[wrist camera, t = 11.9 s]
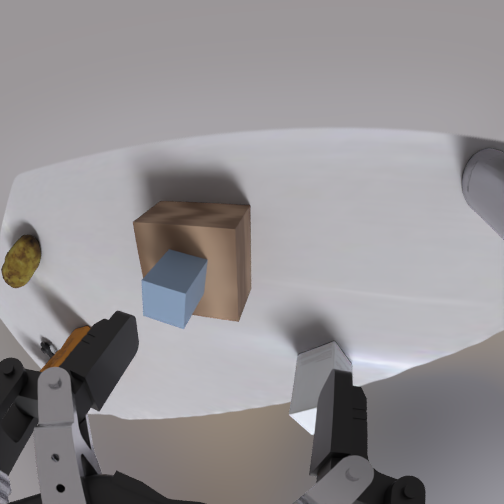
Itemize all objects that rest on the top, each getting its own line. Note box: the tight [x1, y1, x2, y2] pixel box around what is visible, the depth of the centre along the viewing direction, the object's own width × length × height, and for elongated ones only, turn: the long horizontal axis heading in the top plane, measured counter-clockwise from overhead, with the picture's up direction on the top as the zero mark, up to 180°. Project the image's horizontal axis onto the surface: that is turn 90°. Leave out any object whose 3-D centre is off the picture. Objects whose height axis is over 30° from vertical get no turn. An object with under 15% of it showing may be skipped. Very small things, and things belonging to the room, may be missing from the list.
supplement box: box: [289, 341, 353, 435], centre depth 46 cm, size 7×7×13 cm
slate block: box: [142, 249, 208, 329], centre depth 35 cm, size 5×5×7 cm
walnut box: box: [133, 201, 251, 322], centre depth 42 cm, size 13×13×8 cm
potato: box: [1, 235, 41, 288], centre depth 52 cm, size 8×13×8 cm, turn 118°
